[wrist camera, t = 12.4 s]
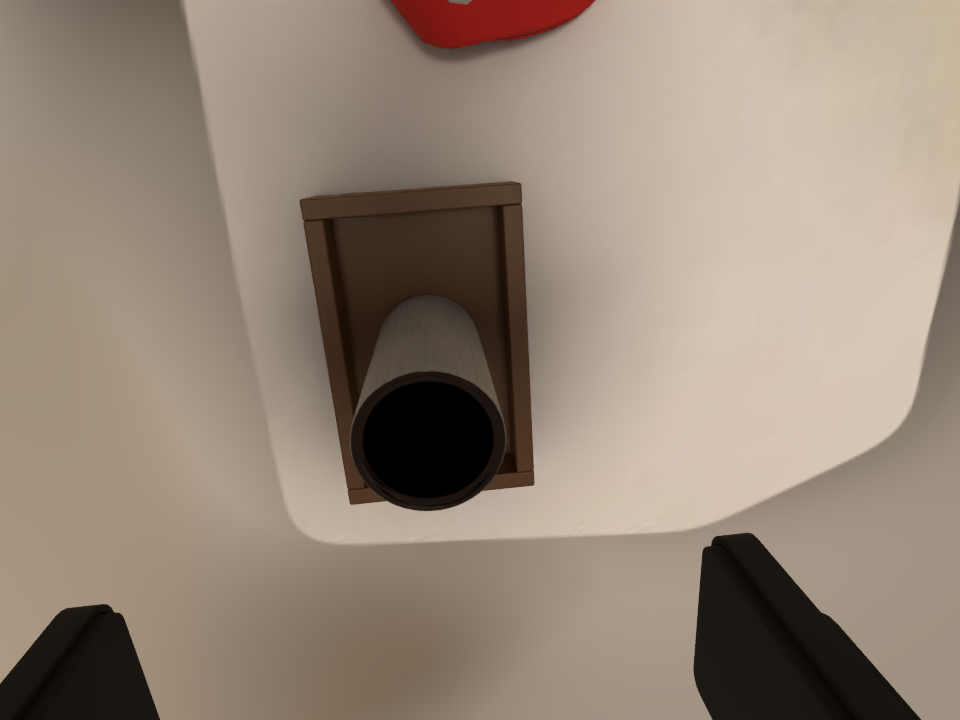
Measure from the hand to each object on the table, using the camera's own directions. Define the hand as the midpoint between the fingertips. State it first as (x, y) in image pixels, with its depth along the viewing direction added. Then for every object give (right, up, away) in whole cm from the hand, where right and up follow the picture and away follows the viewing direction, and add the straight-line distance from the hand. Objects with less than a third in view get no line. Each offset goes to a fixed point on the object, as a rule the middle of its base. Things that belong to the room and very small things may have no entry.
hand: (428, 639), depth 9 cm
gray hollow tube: (-1, +5, +17) cm, 18 cm away
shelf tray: (-2, +6, +18) cm, 18 cm away
